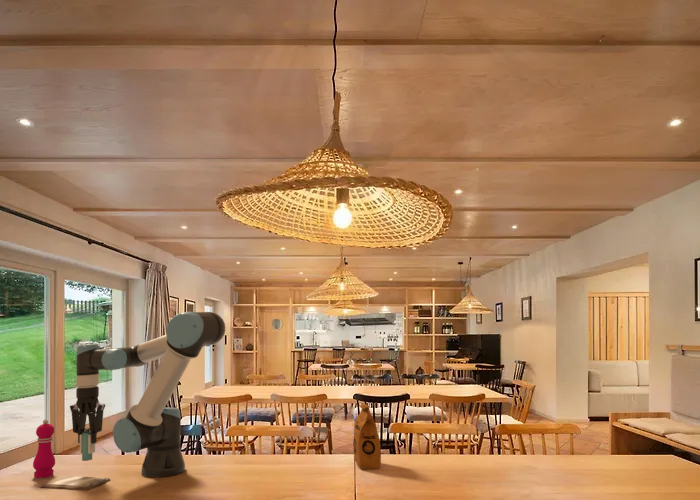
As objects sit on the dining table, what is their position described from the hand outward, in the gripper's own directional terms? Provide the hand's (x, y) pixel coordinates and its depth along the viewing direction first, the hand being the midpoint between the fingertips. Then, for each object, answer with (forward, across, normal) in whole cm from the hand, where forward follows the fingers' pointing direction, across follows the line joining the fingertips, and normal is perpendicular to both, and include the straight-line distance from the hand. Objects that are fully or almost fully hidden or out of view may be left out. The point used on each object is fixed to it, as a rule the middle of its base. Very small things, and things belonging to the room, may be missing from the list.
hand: (87, 452), depth 215 cm
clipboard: (+8, -3, +10) cm, 13 cm away
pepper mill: (+8, +16, +3) cm, 18 cm away
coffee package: (+11, -97, -29) cm, 102 cm away
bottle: (+3, 0, 0) cm, 3 cm away
